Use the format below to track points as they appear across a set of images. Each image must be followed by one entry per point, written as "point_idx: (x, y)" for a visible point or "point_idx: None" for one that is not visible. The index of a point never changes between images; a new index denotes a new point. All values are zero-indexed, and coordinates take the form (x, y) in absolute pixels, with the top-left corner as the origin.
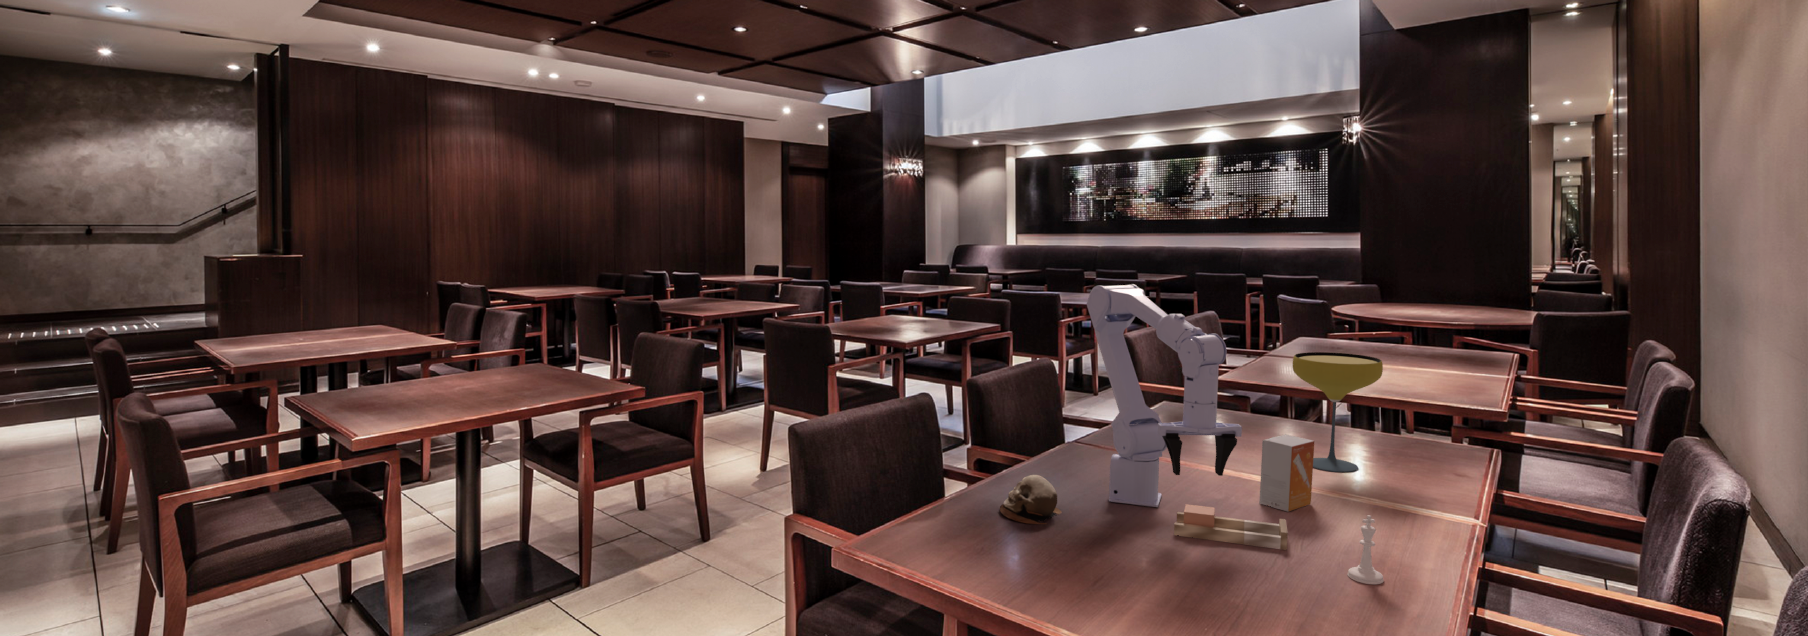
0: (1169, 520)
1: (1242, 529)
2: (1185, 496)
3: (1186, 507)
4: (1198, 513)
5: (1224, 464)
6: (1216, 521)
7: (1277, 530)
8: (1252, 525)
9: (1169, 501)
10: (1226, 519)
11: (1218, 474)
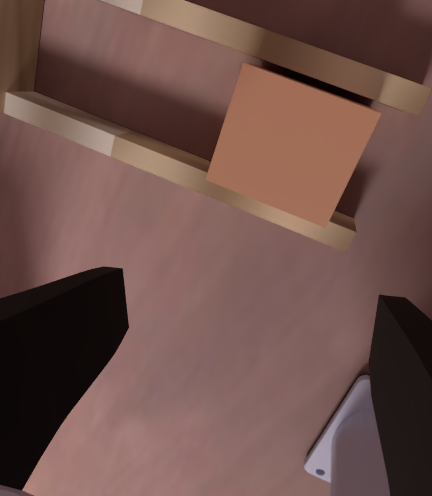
0: (366, 256)
1: (133, 133)
2: (227, 447)
3: (340, 181)
4: (313, 88)
5: (48, 284)
6: None
7: (23, 94)
8: (94, 124)
9: (293, 420)
10: (174, 159)
11: (120, 278)
